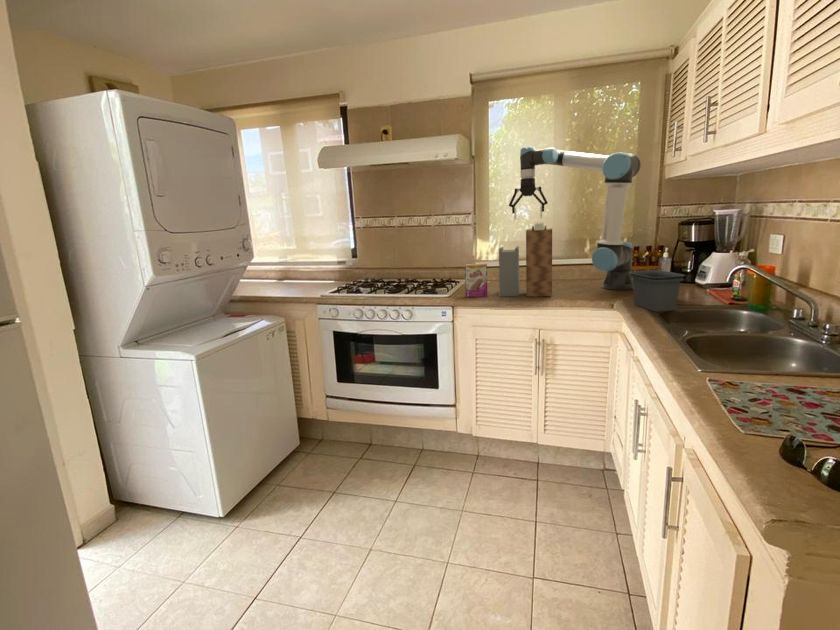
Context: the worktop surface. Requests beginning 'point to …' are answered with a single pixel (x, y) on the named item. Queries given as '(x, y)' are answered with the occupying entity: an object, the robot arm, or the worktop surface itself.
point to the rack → (509, 272)
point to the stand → (539, 262)
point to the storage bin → (656, 289)
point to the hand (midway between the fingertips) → (528, 219)
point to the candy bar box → (476, 280)
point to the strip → (539, 226)
